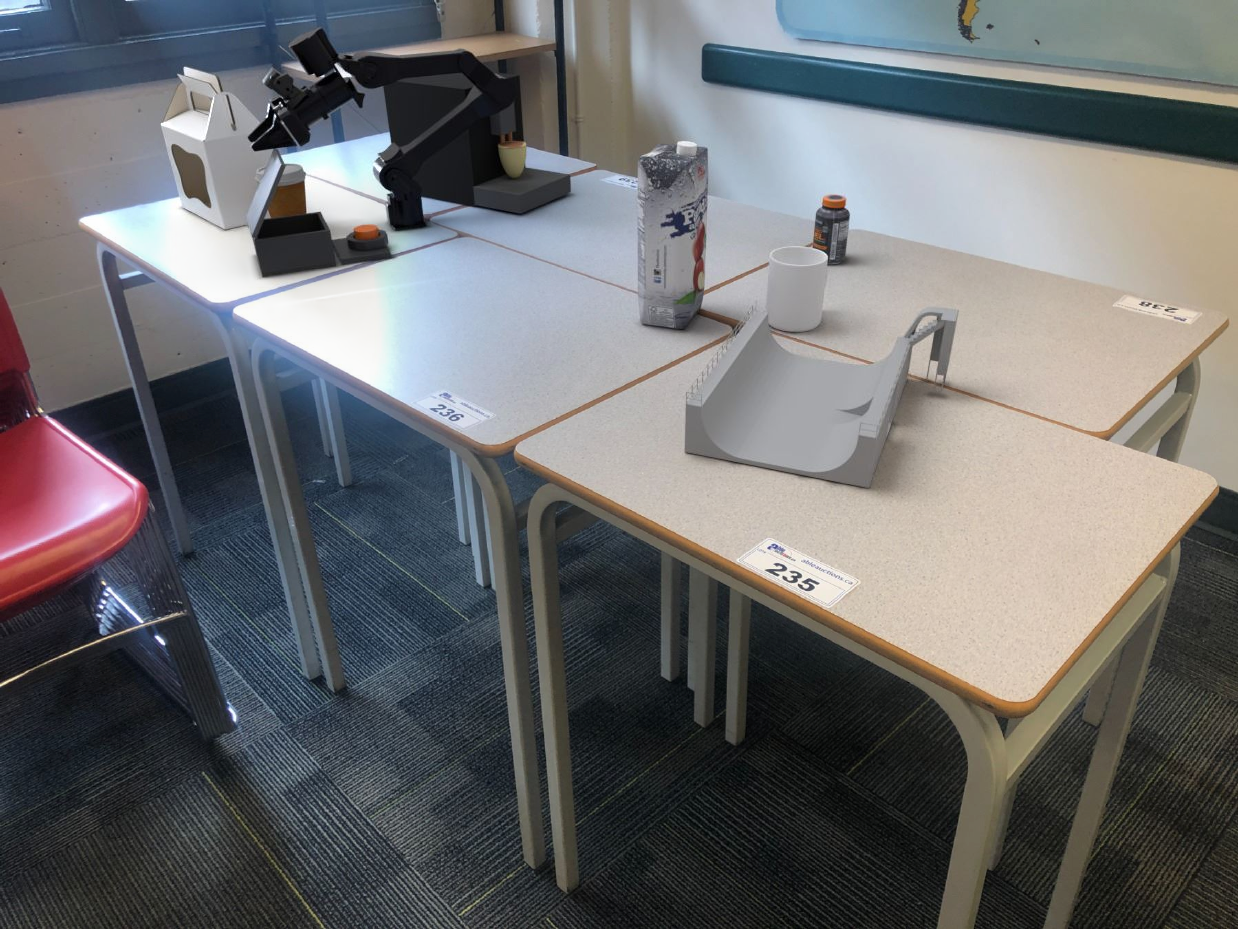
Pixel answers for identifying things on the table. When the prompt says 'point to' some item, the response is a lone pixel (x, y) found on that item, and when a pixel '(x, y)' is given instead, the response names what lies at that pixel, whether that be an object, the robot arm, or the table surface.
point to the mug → (796, 288)
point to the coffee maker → (470, 147)
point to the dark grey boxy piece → (294, 244)
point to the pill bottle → (832, 228)
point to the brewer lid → (265, 192)
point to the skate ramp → (805, 402)
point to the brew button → (366, 232)
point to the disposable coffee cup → (287, 192)
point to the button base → (361, 248)
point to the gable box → (212, 150)
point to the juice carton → (672, 233)
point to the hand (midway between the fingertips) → (250, 144)
